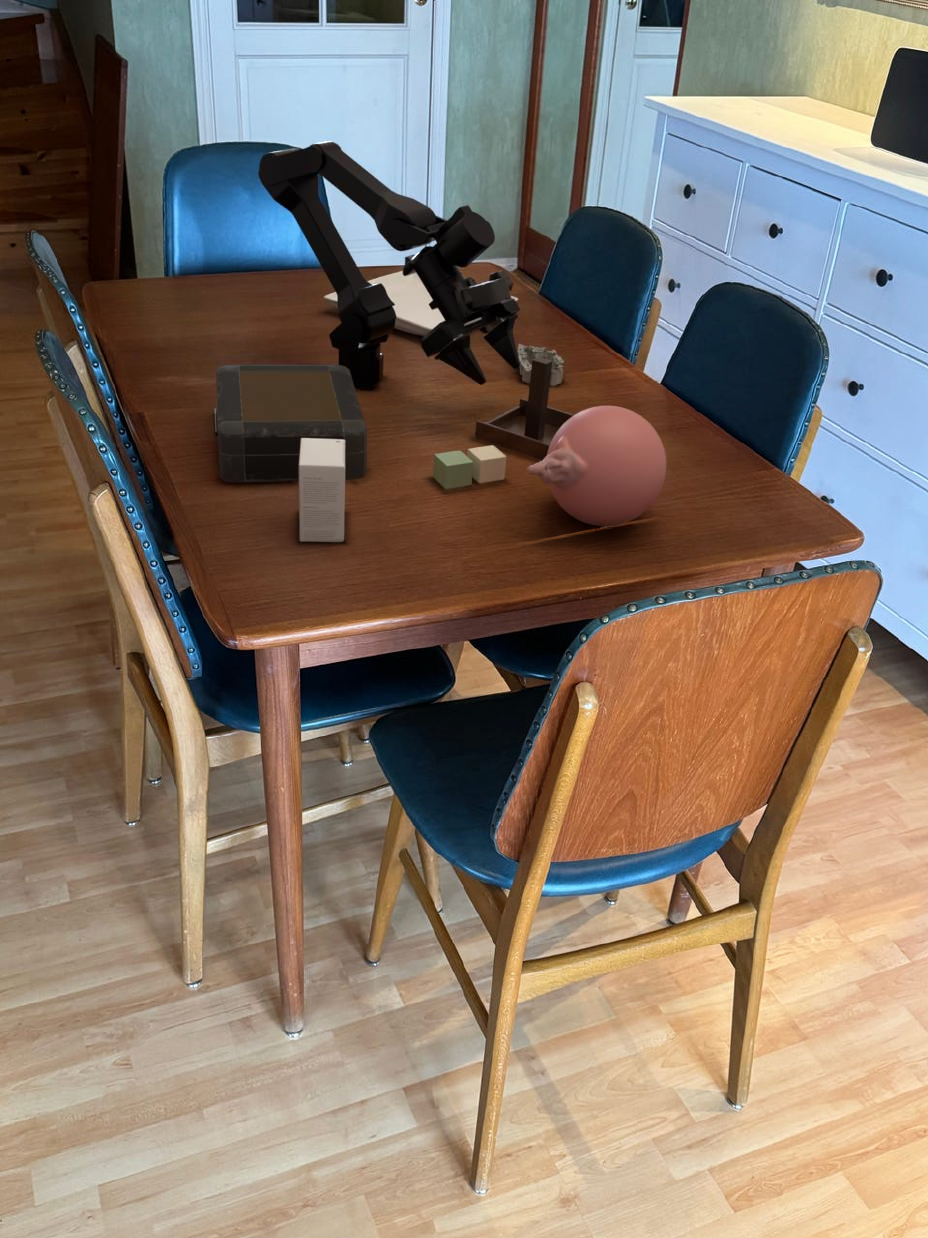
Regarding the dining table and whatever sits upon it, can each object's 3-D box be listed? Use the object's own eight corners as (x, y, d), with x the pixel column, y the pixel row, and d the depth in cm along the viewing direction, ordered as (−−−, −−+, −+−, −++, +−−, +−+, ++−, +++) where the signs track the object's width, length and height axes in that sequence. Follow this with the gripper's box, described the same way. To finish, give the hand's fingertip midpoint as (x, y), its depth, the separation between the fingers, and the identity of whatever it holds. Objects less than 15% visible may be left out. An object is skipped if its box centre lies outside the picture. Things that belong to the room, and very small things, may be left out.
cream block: (467, 448, 153) (481, 460, 150) (493, 444, 155) (506, 456, 152) (465, 474, 155) (478, 486, 152) (490, 470, 157) (504, 482, 154)
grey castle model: (563, 387, 186) (566, 364, 184) (519, 385, 186) (521, 361, 184) (557, 364, 195) (560, 342, 193) (515, 362, 195) (517, 339, 193)
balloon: (488, 509, 147) (498, 400, 139) (612, 485, 156) (628, 381, 147) (549, 563, 136) (564, 448, 128) (679, 535, 145) (700, 425, 136)
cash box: (214, 412, 168) (211, 362, 163) (348, 410, 172) (348, 362, 167) (215, 485, 147) (212, 432, 143) (367, 482, 151) (368, 429, 147)
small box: (301, 512, 143) (300, 436, 137) (344, 513, 143) (345, 437, 138) (298, 542, 136) (297, 464, 130) (344, 543, 137) (345, 465, 131)
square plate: (409, 284, 229) (410, 265, 227) (519, 316, 217) (521, 296, 215) (321, 312, 210) (321, 292, 208) (435, 348, 198) (437, 327, 196)
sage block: (434, 453, 151) (446, 465, 148) (460, 449, 153) (473, 461, 150) (432, 480, 153) (445, 492, 150) (458, 476, 155) (471, 488, 152)
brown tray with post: (474, 440, 166) (481, 359, 159) (519, 416, 174) (527, 339, 168) (548, 465, 160) (558, 383, 153) (591, 439, 169) (602, 360, 162)
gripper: (442, 266, 152) (502, 364, 153) (515, 242, 165) (570, 333, 167) (395, 309, 160) (452, 402, 161) (468, 283, 173) (520, 369, 174)
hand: (501, 375), depth 166 cm, fingers open, 9 cm apart
